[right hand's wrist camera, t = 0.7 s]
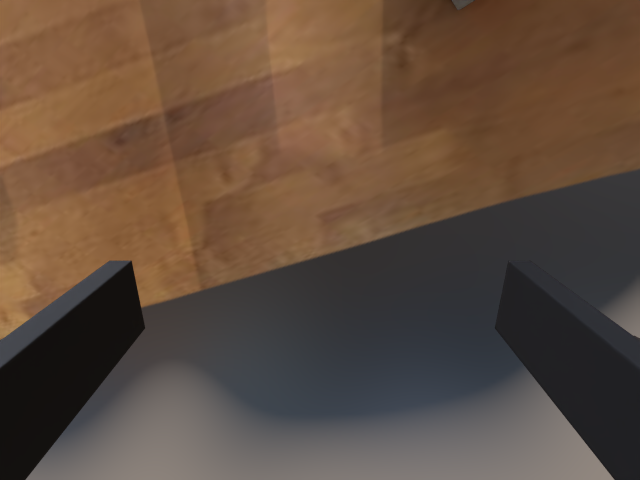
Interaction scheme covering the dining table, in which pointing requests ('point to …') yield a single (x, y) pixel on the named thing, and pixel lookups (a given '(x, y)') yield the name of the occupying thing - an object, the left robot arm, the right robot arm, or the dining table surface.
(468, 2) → the hard drive box
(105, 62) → the dining table surface
